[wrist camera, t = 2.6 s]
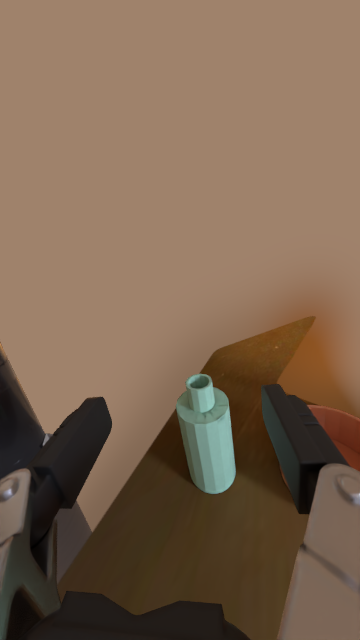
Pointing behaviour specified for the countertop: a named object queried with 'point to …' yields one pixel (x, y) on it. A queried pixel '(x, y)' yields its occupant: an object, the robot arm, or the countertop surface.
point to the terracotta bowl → (339, 433)
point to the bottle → (206, 434)
